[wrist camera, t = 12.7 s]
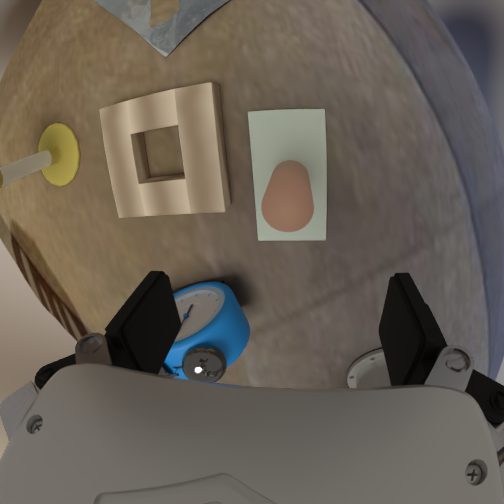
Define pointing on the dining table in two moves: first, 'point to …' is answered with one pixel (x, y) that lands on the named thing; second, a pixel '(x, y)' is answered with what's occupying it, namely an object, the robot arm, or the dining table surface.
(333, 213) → the dining table surface
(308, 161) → the mat
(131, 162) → the pocket frame
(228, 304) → the alarm clock
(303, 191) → the peg
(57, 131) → the candle
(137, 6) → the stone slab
